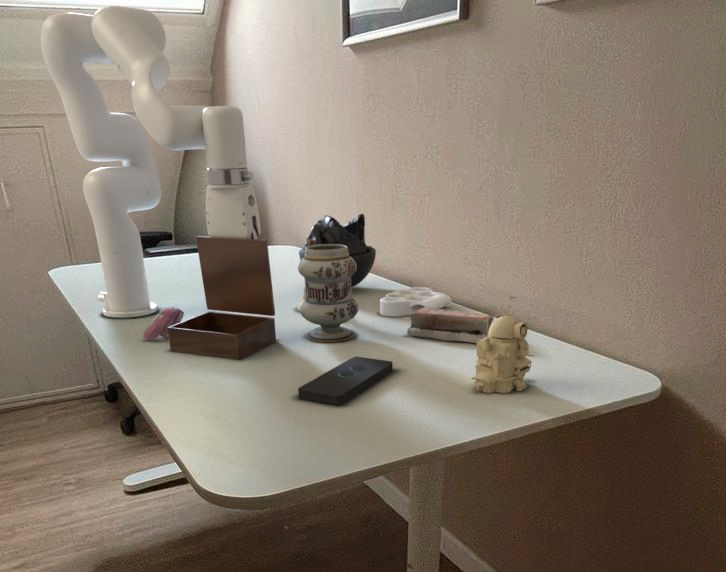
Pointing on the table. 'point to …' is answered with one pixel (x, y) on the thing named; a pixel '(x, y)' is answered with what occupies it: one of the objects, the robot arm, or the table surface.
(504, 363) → the robot
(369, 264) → the bowl of black rocks
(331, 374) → the smart home device
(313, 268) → the apothecary jar
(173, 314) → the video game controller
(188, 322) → the box
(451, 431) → the table surface
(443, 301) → the white lobed tray
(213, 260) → the box lid
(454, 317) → the packaged product
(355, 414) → the table surface
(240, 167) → the robot arm
